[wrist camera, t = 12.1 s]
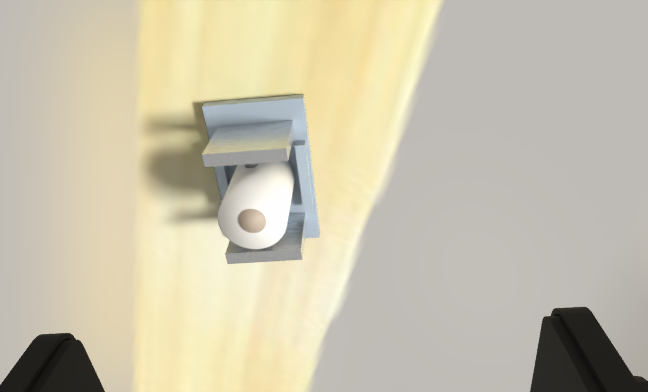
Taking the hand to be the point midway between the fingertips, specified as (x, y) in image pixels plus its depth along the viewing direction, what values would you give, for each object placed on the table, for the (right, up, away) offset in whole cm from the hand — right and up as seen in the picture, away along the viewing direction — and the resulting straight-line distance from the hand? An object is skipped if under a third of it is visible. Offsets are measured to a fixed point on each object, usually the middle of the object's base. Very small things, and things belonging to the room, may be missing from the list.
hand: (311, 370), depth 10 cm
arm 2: (-4, +1, +33) cm, 33 cm away
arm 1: (-5, +9, +29) cm, 31 cm away
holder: (-5, +6, +32) cm, 33 cm away
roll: (-5, +5, +31) cm, 32 cm away
